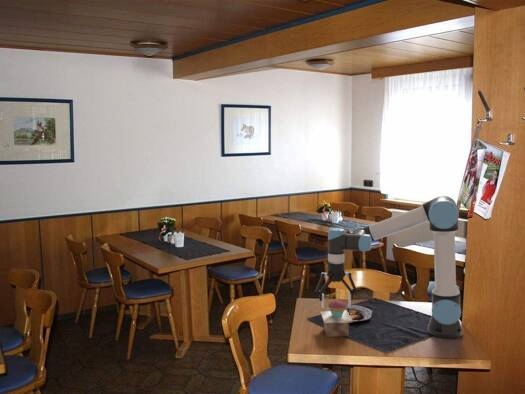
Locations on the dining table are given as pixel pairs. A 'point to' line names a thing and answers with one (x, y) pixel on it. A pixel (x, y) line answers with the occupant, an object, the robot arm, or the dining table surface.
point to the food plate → (359, 317)
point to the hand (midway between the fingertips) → (336, 307)
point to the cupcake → (337, 307)
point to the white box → (336, 324)
